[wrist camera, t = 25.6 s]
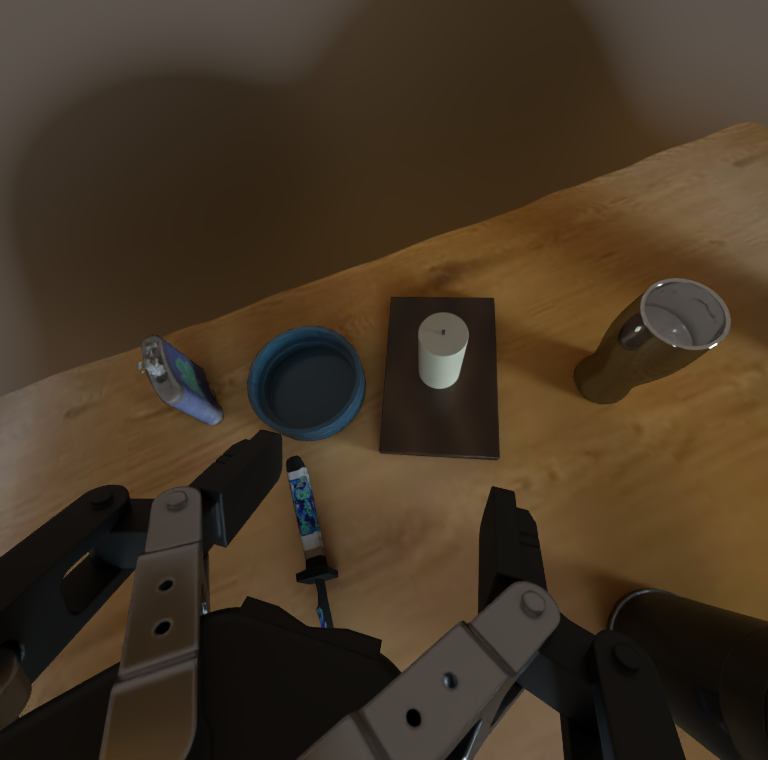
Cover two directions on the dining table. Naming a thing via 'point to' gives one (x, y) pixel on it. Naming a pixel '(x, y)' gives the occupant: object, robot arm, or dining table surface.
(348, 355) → the bowl
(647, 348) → the beer glass
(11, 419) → the dining table surface
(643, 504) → the dining table surface
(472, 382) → the cutting board
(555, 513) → the dining table surface
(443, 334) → the candle
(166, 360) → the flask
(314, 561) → the knife
